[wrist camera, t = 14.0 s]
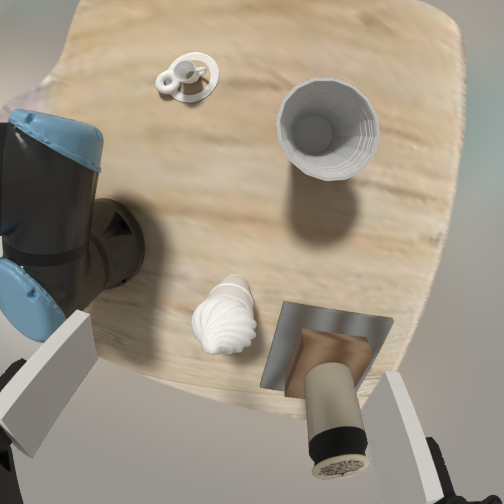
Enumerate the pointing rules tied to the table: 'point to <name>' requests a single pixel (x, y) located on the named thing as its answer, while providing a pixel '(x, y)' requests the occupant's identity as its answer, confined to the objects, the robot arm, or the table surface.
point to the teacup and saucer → (178, 75)
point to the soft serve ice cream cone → (226, 317)
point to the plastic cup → (328, 129)
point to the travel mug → (334, 423)
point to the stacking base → (320, 323)
